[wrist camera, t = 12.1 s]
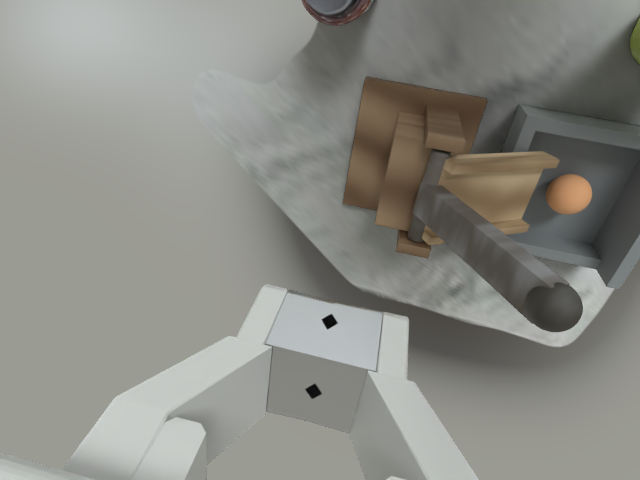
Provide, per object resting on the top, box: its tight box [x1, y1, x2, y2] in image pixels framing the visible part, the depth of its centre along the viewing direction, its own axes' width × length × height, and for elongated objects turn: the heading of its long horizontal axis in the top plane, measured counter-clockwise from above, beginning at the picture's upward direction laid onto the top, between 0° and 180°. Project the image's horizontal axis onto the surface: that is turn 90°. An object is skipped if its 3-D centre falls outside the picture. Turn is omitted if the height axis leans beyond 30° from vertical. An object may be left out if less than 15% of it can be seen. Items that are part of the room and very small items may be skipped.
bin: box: [501, 104, 640, 289], centre depth 42 cm, size 14×14×7 cm
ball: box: [546, 174, 592, 214], centre depth 43 cm, size 4×4×4 cm
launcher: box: [407, 148, 583, 332], centre depth 34 cm, size 9×14×17 cm
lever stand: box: [343, 77, 487, 258], centre depth 42 cm, size 14×12×11 cm
